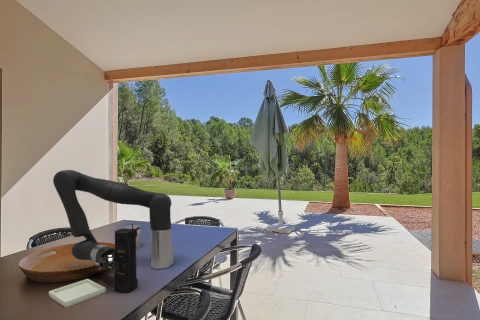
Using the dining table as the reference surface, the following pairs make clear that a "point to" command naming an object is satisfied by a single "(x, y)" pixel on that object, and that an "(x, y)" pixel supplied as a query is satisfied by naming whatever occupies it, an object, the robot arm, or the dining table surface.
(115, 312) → the dining table surface
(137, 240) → the can
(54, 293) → the sage tray
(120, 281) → the portable radio
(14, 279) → the dining table surface
